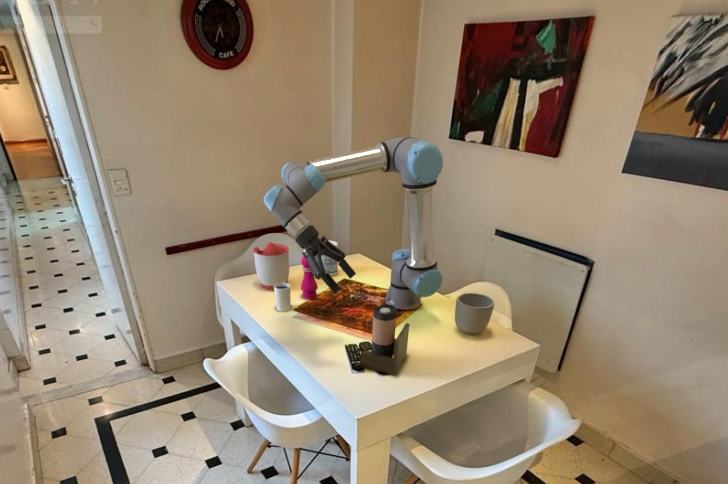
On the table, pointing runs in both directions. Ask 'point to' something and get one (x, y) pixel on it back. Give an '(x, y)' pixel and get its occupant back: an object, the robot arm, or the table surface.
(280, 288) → the white cup
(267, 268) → the citrus juicer
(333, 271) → the supplement tub
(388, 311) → the travel mug
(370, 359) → the shelf rack
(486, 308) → the planter
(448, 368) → the table surface
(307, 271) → the pepper mill
